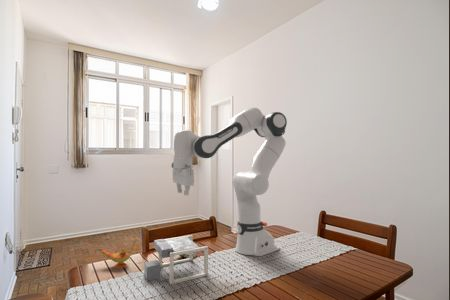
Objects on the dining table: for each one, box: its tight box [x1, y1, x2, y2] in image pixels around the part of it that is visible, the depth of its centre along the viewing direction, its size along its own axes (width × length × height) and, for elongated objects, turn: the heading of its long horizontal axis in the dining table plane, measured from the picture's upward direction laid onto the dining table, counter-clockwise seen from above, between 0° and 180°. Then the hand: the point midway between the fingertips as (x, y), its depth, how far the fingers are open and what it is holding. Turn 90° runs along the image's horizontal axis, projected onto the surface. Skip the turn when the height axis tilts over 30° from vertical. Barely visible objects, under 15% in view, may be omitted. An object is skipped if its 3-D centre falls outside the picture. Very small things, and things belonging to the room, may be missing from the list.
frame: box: [158, 234, 209, 285], centre depth 103 cm, size 15×18×11 cm
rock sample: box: [178, 252, 197, 259], centre depth 118 cm, size 10×8×9 cm
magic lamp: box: [96, 240, 139, 269], centre depth 108 cm, size 7×18×11 cm, turn 88°
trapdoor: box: [153, 237, 200, 259], centre depth 102 cm, size 14×14×3 cm
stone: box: [143, 259, 161, 281], centre depth 98 cm, size 5×5×5 cm
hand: (182, 194), depth 119 cm, fingers open, 8 cm apart
